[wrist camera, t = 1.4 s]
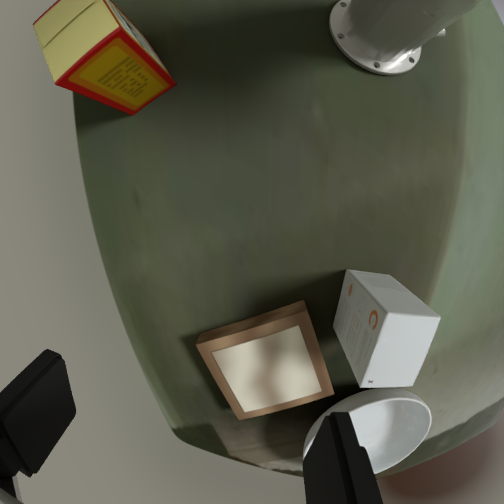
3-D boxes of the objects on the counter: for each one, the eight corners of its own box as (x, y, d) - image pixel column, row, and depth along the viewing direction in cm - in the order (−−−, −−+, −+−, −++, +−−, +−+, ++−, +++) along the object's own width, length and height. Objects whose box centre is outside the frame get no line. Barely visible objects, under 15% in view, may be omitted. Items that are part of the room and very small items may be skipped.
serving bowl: (290, 456, 44) (292, 485, 37) (312, 371, 39) (319, 403, 32) (392, 448, 43) (402, 472, 37) (433, 365, 38) (452, 390, 32)
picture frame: (303, 299, 36) (307, 310, 33) (330, 381, 39) (334, 394, 36) (200, 333, 38) (195, 345, 34) (240, 406, 41) (238, 421, 37)
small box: (374, 329, 37) (412, 388, 24) (331, 326, 37) (358, 389, 24) (390, 273, 35) (442, 316, 22) (345, 267, 35) (385, 312, 22)
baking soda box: (176, 84, 30) (118, 27, 15) (132, 115, 31) (52, 83, 16) (144, 35, 28) (85, -26, 13) (104, 65, 29) (30, 22, 14)
